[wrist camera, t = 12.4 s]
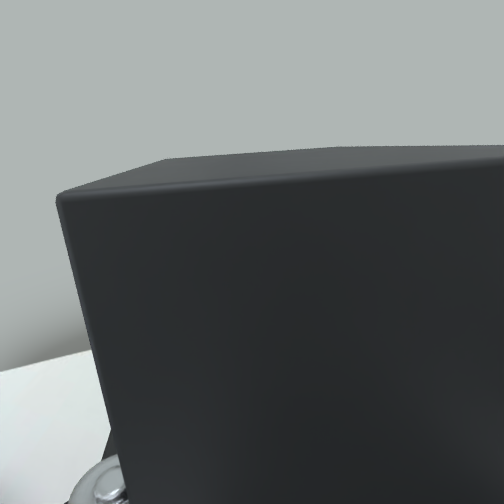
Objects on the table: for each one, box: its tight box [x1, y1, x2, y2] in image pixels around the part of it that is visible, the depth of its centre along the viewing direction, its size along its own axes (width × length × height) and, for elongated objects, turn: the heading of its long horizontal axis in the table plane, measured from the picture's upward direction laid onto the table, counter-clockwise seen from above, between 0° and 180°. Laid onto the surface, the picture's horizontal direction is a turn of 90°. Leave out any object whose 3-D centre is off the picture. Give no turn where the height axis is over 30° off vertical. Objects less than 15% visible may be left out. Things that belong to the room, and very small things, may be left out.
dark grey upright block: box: [56, 145, 504, 504], centre depth 7 cm, size 4×6×12 cm
